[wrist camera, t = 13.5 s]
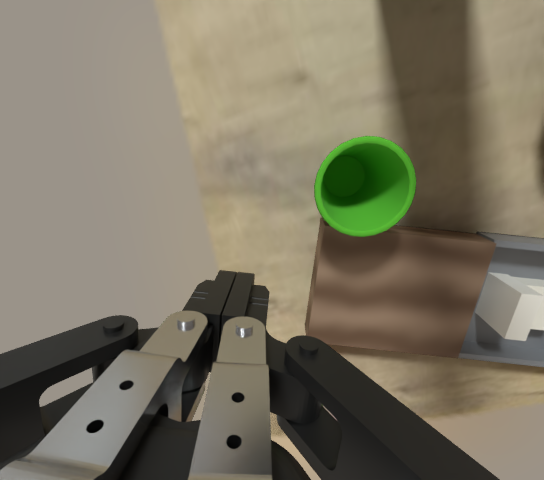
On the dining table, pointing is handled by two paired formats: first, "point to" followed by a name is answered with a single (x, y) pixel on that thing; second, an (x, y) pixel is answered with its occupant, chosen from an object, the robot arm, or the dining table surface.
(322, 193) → the cup
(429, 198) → the dining table surface
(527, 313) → the tile
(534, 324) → the tile
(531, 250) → the box
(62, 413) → the robot arm
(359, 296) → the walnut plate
